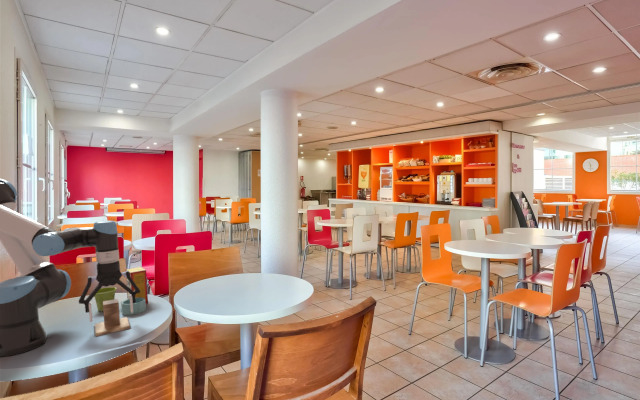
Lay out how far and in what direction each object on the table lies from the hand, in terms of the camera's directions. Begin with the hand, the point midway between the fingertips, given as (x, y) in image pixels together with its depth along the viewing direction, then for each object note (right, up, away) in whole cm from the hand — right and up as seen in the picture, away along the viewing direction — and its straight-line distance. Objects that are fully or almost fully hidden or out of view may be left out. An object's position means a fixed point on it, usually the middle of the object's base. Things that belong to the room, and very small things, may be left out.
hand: (112, 315), depth 137 cm
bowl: (-1, -4, +18) cm, 18 cm away
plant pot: (-16, -5, +23) cm, 29 cm away
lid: (0, -4, 0) cm, 5 cm away
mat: (0, -5, 0) cm, 5 cm away
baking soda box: (-6, -4, +31) cm, 32 cm away
